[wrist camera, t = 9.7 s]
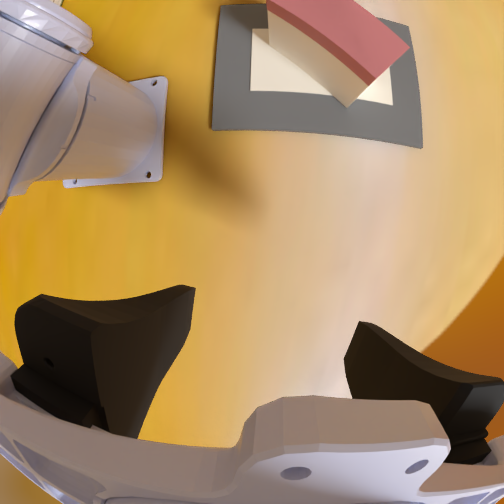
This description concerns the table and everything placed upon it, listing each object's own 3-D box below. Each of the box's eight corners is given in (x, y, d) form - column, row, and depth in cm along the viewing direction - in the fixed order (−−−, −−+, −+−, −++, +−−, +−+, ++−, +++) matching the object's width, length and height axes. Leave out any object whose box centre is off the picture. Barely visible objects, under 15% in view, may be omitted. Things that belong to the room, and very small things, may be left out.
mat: (212, 130, 18) (211, 129, 17) (221, 8, 15) (220, 4, 15) (420, 148, 17) (423, 148, 16) (406, 28, 14) (408, 25, 14)
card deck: (346, 108, 16) (376, 78, 10) (268, 45, 15) (265, -2, 10) (375, 80, 15) (410, 47, 10) (300, 21, 15) (307, -28, 9)
